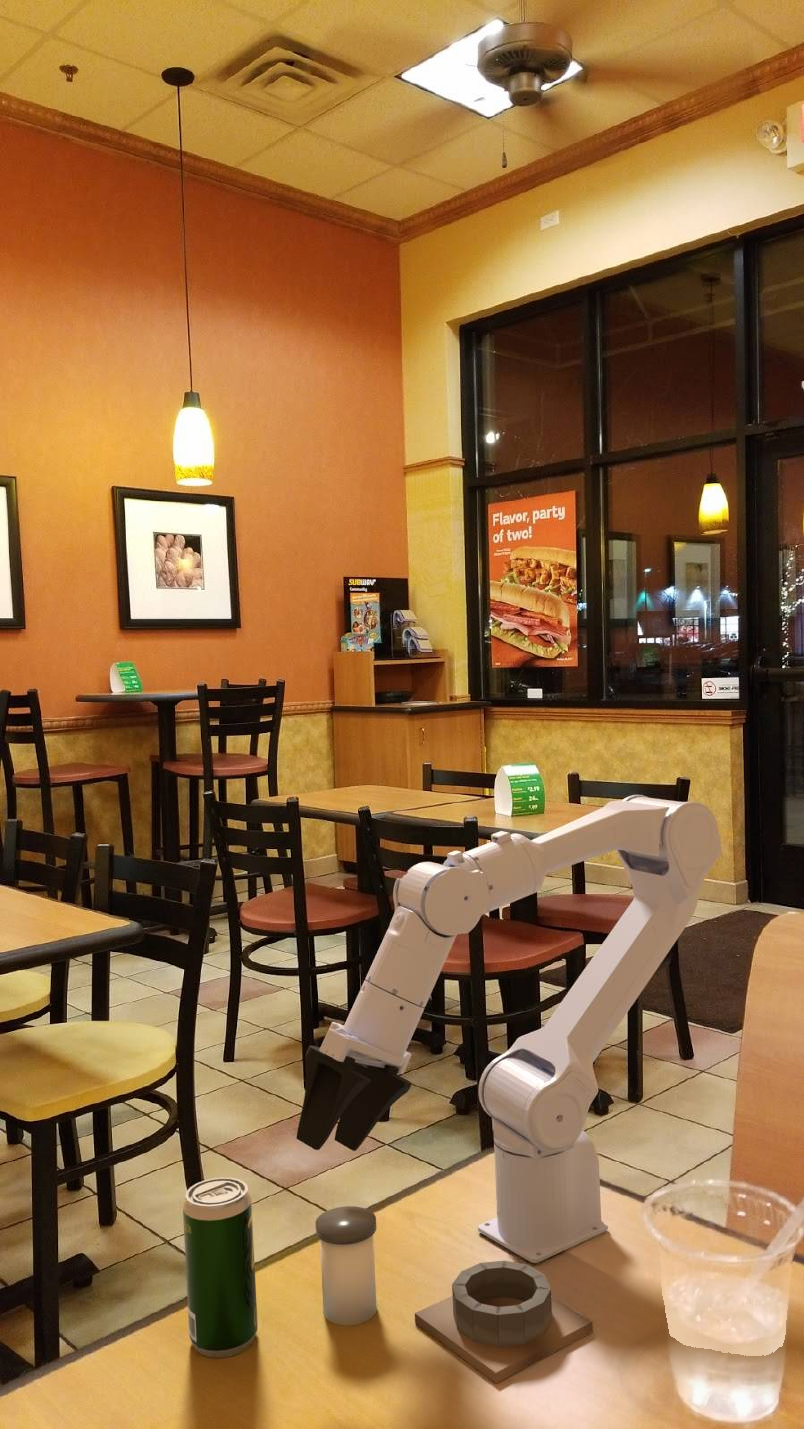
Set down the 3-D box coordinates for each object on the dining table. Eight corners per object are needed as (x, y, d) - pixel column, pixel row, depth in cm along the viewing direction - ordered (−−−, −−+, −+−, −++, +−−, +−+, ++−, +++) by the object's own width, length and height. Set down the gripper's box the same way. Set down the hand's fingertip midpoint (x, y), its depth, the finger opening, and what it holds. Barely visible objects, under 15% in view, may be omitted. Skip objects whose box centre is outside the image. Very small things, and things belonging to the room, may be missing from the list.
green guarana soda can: (206, 1369, 85) (198, 1214, 84) (179, 1335, 89) (171, 1189, 89) (269, 1343, 88) (262, 1193, 87) (240, 1312, 92) (233, 1170, 92)
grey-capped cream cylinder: (358, 1286, 95) (354, 1200, 95) (392, 1311, 91) (388, 1222, 91) (308, 1307, 92) (304, 1219, 92) (340, 1335, 88) (336, 1242, 88)
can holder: (508, 1278, 95) (506, 1241, 95) (592, 1331, 87) (591, 1290, 87) (415, 1322, 90) (413, 1282, 89) (496, 1383, 81) (494, 1339, 81)
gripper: (387, 986, 104) (324, 1125, 102) (322, 962, 92) (249, 1119, 89) (451, 1018, 101) (388, 1162, 99) (393, 997, 89) (319, 1162, 86)
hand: (326, 1144), depth 94 cm, fingers open, 7 cm apart
